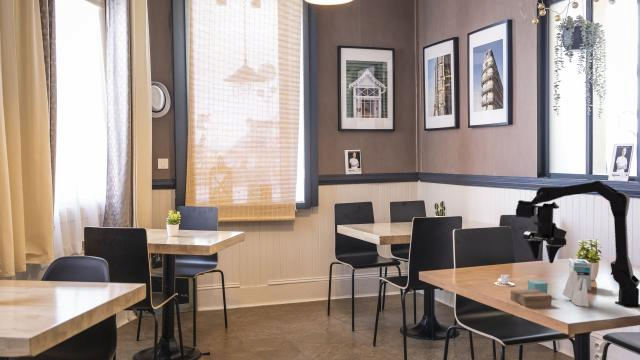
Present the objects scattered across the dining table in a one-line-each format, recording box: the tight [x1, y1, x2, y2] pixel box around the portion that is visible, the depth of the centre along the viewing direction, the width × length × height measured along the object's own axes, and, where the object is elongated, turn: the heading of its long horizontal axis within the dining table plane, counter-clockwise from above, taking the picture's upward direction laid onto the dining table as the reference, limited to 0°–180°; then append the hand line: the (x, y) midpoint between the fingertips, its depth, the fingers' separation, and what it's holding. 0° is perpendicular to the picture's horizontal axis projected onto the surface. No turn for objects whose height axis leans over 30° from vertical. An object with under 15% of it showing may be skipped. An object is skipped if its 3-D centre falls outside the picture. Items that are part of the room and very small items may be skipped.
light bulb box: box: [568, 258, 592, 291], centre depth 246 cm, size 11×7×11 cm, turn 168°
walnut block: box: [510, 289, 553, 308], centre depth 219 cm, size 10×10×4 cm
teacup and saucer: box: [494, 274, 515, 287], centre depth 251 cm, size 9×8×4 cm
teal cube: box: [527, 280, 548, 294], centre depth 232 cm, size 5×5×5 cm
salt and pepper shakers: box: [562, 271, 590, 307], centre depth 220 cm, size 12×4×11 cm, turn 4°
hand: (543, 260), depth 233 cm, fingers open, 9 cm apart
